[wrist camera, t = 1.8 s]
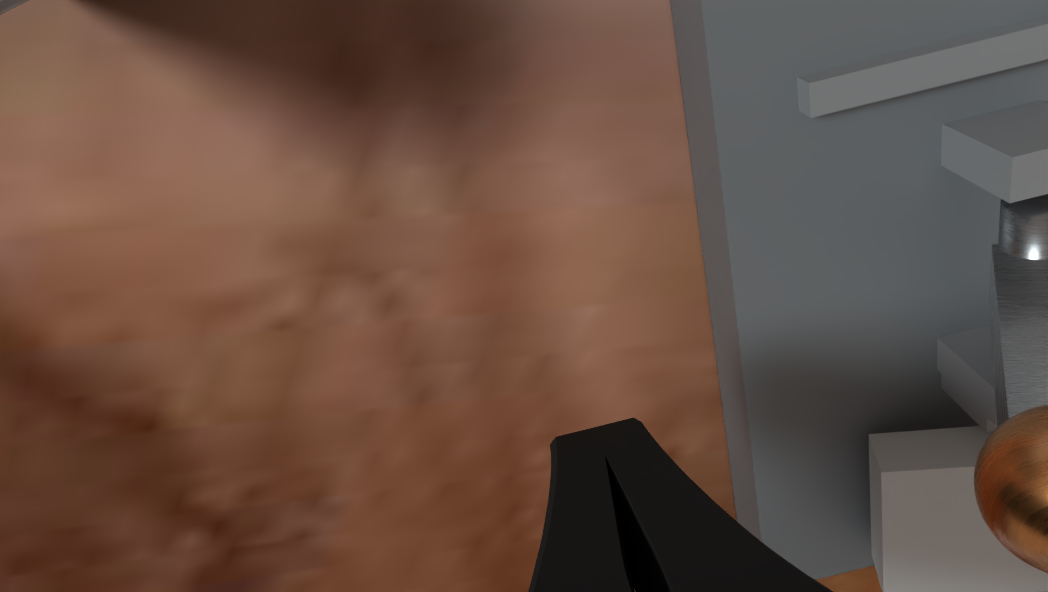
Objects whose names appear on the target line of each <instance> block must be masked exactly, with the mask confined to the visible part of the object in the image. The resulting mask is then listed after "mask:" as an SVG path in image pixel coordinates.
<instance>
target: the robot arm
mask: <svg viewBox="0 0 1048 592" xmlns="http://www.w3.org/2000/svg"><path fill="white" fill-rule="evenodd" d="M550 449H551V481H550V490H549V499H548V506H547V512H546V517H545V523H544V529H543V535H542V540H541V544H540V549H539V553H538V557H537V560H536V564H535V568H534V572H533V576H532V580H531V584H530V588H529V591H528V592H635V591H636V592H833V591H831V590H830V589H828V588H827V587H825V586H824V585H822V584H820V583H819V582H817V581H816V580H814V579H813V578H811V577H810V576H808V575H807V574H805V573H804V572H802V571H801V570H799V569H798V568H797V567H795V566H794V565H792V564H791V563H790V562H788V561H787V560H785V559H784V558H783V557H781V556H780V555H778V554H777V553H776V552H774V551H773V550H772V549H770V548H769V547H768V546H766V545H765V544H764V543H763V542H761V541H760V540H759V539H758V538H756V537H755V536H754V535H753V534H751V533H750V532H749V531H748V530H747V529H745V528H744V527H743V526H742V525H741V524H739V523H738V522H737V521H736V520H735V519H733V518H732V517H731V516H730V515H729V514H728V513H726V512H725V511H724V510H723V509H722V508H721V507H720V506H719V505H717V504H716V503H715V502H714V501H713V500H712V499H711V498H710V497H709V496H708V495H707V494H706V493H705V492H704V491H703V490H702V489H701V488H699V487H698V486H697V485H696V484H695V483H694V482H693V481H692V480H691V479H690V478H689V477H688V476H687V475H686V474H685V473H684V472H683V471H682V470H681V469H680V468H679V467H678V466H677V464H676V463H675V462H674V461H673V460H672V459H671V458H670V457H669V456H668V455H667V454H666V452H665V451H664V450H663V449H662V448H661V447H660V446H659V444H658V443H657V442H656V441H655V440H654V438H653V437H652V436H651V434H650V433H649V432H648V431H647V429H646V428H645V426H644V425H643V424H642V422H640V421H638V420H637V419H635V418H630V419H626V420H622V421H618V422H614V423H610V424H606V425H602V426H598V427H594V428H590V429H586V430H582V431H578V432H574V433H570V434H566V435H562V436H558V437H555V439H554V440H553V441H552V443H551V444H550ZM634 589H635V591H634Z"/></svg>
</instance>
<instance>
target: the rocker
mask: <svg viewBox="0 0 1048 592" xmlns="http://www.w3.org/2000/svg"><path fill="white" fill-rule="evenodd" d="M992 432H993V431H990V432H986V431H985V430H984V429H983V428H982V427H981V426H972V427H958V428H945V429H931V430H918V431H904V432H891V433H877V434H868V436H869V473H870V510H871V548H872V558H873V562H874V565H875V569H876V572H877V576H878V579H879V583H880V586H881V590H882V592H1048V573H1046V572H1043V571H1041V570H1039V569H1037V568H1034V567H1032V566H1030V565H1029V564H1027V563H1025V562H1023V561H1022V560H1020V559H1019V558H1018V557H1016V556H1015V555H1014V554H1012V553H1011V552H1010V551H1008V550H1007V549H1006V548H1005V547H1004V546H1003V545H1002V544H1001V543H1000V542H999V541H998V539H997V538H996V537H995V536H994V535H993V534H992V532H991V531H990V529H989V528H988V526H987V525H986V523H985V521H984V520H983V518H982V515H981V513H980V511H979V508H978V505H977V502H976V498H975V492H974V470H975V464H976V461H977V458H978V455H979V452H980V450H981V448H982V447H983V445H984V443H985V442H986V440H987V438H988V437H989V436H990V435H991V434H992Z"/></svg>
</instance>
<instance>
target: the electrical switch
mask: <svg viewBox="0 0 1048 592" xmlns="http://www.w3.org/2000/svg"><path fill="white" fill-rule="evenodd" d="M26 1H28V0H0V14H2V13H4V12H6V11H8V10H10V9H12V8H14V7H16V6H18V5H20V4H22V3H24V2H26Z"/></svg>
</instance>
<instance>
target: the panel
mask: <svg viewBox="0 0 1048 592" xmlns="http://www.w3.org/2000/svg"><path fill="white" fill-rule="evenodd" d="M670 3H671V11H672V19H673V27H674V34H675V42H676V50H677V58H678V65H679V73H680V81H681V89H682V97H683V104H684V112H685V120H686V128H687V135H688V143H689V151H690V159H691V166H692V174H693V182H694V190H695V198H696V205H697V213H698V221H699V229H700V236H701V244H702V252H703V260H704V268H705V275H706V283H707V291H708V299H709V306H710V314H711V322H712V330H713V338H714V345H715V353H716V361H717V369H718V376H719V384H720V392H721V400H722V408H723V415H724V423H725V431H726V439H727V446H728V454H729V462H730V470H731V477H732V485H733V493H734V501H735V509H736V516H737V522H738V523H739V524H741V525H742V526H743V527H744V528H745V529H747V530H748V531H749V532H750V533H751V534H753V535H754V536H755V537H756V538H758V539H759V540H760V541H761V542H763V543H764V544H765V545H766V546H768V547H769V548H770V549H772V550H773V551H774V552H776V553H777V554H778V555H780V556H781V557H783V558H784V559H785V560H787V561H788V562H790V563H791V564H792V565H794V566H795V567H797V568H798V569H799V570H801V571H802V572H804V573H805V574H807V575H808V576H810V577H811V578H813V579H814V580H816V579H820V578H825V577H829V576H833V575H837V574H841V573H845V572H849V571H853V570H857V569H861V568H865V567H869V566H873V565H874V562H873V558H872V548H871V510H870V473H869V436H868V434H877V433H891V432H904V431H918V430H931V429H945V428H958V427H972V426H981V427H982V428H983V429H984V430H985V431H986V432H990V431H994V430H995V429H997V416H996V403H995V391H994V378H993V366H992V354H991V341H990V329H989V316H988V302H989V284H990V265H991V246H992V244H998V236H999V219H1000V202H1001V199H1003V200H1004V201H1006V202H1008V203H1013V202H1017V201H1021V200H1025V199H1029V198H1033V197H1037V196H1041V195H1045V194H1048V0H670Z"/></svg>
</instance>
